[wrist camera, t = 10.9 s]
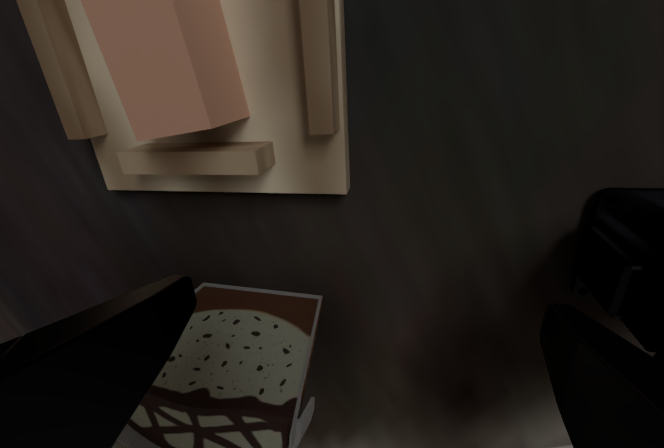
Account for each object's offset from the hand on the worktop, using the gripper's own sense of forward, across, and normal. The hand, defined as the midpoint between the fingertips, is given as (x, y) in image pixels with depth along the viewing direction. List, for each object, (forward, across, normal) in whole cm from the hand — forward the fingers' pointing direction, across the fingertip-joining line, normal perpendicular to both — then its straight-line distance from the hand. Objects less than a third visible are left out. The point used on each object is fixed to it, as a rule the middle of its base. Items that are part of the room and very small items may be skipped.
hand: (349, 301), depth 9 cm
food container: (+12, +9, +12) cm, 19 cm away
